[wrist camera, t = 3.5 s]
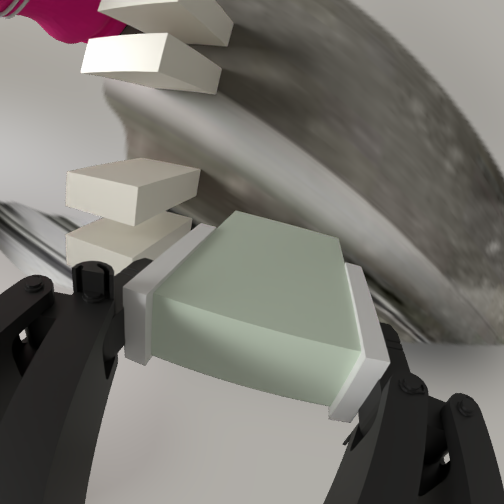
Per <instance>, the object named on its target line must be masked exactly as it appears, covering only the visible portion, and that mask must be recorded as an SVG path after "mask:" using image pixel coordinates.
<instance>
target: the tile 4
mask: <svg viewBox="0 0 504 504" xmlns="http://www.w3.org/2000/svg"><path fill="white" fill-rule="evenodd" d="M221 71H222V68H221V67H219V66H218V65H216V64H215V63H213V62H212V61H211V60H209V59H208V58H206V57H205V56H203V55H202V54H200V53H199V52H197V51H196V50H194V49H193V48H191V47H190V46H188V45H187V44H185V43H183V42H182V41H180V40H179V39H177V38H175V37H174V36H172V35H171V34H169V33H147V34H130V35H118V36H109V37H100V38H93V39H89V41H88V44H87V48H86V52H85V56H84V60H83V65H82V69H81V73H84V74H89V75H95V76H101V77H106V78H111V79H116V80H121V81H125V82H130V83H134V84H139V85H143V86H147V87H151V88H156V89H169V90H180V91H190V92H199V93H207V94H215V95H216V92H217V88H218V84H219V79H220V75H221Z"/></svg>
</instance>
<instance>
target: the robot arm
mask: <svg viewBox="0 0 504 504" xmlns="http://www.w3.org/2000/svg"><path fill="white" fill-rule="evenodd" d="M215 231H216V227H215V226H211V225H207V224H203V223H200V224H199V225H198V226H196V227H195V228H194V229H193V230H191V231H190V232H189V233H188V234H186V235H185V236H184V237H182V238H181V239H180V240H179V241H177V242H176V243H175V244H174V245H172V246H171V247H170V248H169V249H168V250H166V251H165V252H164V253H163V254H161V255H160V256H159V257H158V258H157V259H155V260H151V259H148V258H142V259H139V260H136V261H133V262H132V263H131V264H129V265H128V266H127V267H126V268H124V269H123V270H122V271H120V273H118V274H116V275H115V276H114V270H113V268H112V266H110V265H108V264H107V263H104V262H100V261H85V262H81V263H78V264H76V265H75V266H74V267H72V277H73V290H74V293H73V294H72V295H68V294H63V293H58V292H54V287H53V282H52V280H51V279H49V278H48V277H46V276H42V275H32V276H28V277H26V278H24V279H22V280H20V281H19V282H17V283H16V284H15V285H13V286H11V287H10V288H9V289H7V290H6V291H4V292H3V293H2V294H0V504H85V499H86V492H87V486H88V481H89V476H90V471H91V466H92V461H93V456H94V452H95V447H96V443H97V438H98V434H99V430H100V426H101V422H102V418H103V414H104V410H105V406H106V403H107V399H108V395H109V392H110V388H111V385H112V381H113V378H114V374H115V371H116V367H117V364H118V355H117V353H118V352H119V350H120V349H121V348H122V347H123V346H124V350H125V357H126V358H128V359H130V360H132V361H135V362H137V363H139V364H142V365H144V366H145V365H146V364H147V362H148V361H149V360H150V358H151V357H152V356H153V355H151V332H152V306H153V293H154V292H155V291H156V290H157V289H158V288H159V287H160V286H161V285H162V284H163V282H164V281H165V280H166V279H167V278H168V277H169V276H170V275H171V274H172V273H173V272H174V271H175V270H176V269H177V268H178V267H179V266H180V265H181V264H182V263H183V262H184V261H185V260H186V259H187V258H188V257H189V256H190V255H191V254H192V253H193V252H194V251H195V250H196V249H197V248H198V247H199V246H200V245H201V244H202V243H203V242H204V241H205V240H206V239H207V238H209V237H210V236H211V235H212V234H213V233H214V232H215ZM345 270H346V274H347V279H348V283H349V288H350V293H351V297H352V302H353V307H354V312H355V317H356V323H357V328H358V334H359V339H360V345H361V351H362V352H361V354H360V356H359V358H358V359H357V361H356V363H355V365H354V367H353V369H352V370H351V372H350V374H349V376H348V378H347V379H346V381H345V383H344V384H343V386H342V388H341V390H340V391H339V393H338V395H337V396H336V398H335V400H334V401H333V403H332V405H331V406H329V419H330V420H336V421H342V422H349V423H351V421H352V420H353V418H354V417H355V416H356V414H357V413H359V423H358V425H357V426H356V427H355V429H354V430H353V431H352V432H351V434H350V435H349V436H348V437H347V439H346V440H345V441H344V443H343V445H346V444H347V443H348V442H349V443H348V446H347V449H346V451H345V454H344V457H343V459H342V462H341V464H340V467H339V469H338V471H337V474H336V476H335V479H334V481H333V483H332V486H331V488H330V490H329V492H328V495H327V497H326V499H325V501H324V503H323V504H504V489H503V484H502V480H501V476H500V472H499V468H498V464H497V461H496V457H495V453H494V450H493V446H492V443H491V440H490V436H489V433H488V430H487V427H486V424H485V421H484V419H483V416H482V413H481V410H480V408H479V406H478V404H477V403H476V402H475V401H474V399H473V398H471V397H470V396H468V395H465V394H462V393H455V394H454V395H452V396H451V397H450V398H449V400H448V401H447V402H443V401H441V400H438V399H436V398H433V397H431V396H429V395H428V389H427V386H426V385H425V383H424V382H423V381H422V380H421V379H420V378H419V377H418V376H416V375H414V374H412V373H410V370H409V367H408V363H407V360H406V357H405V354H404V352H403V348H402V345H401V344H400V339H399V337H398V334H397V332H396V331H395V330H394V329H393V328H392V326H391V325H389V324H385V323H381V322H379V320H378V317H377V313H376V310H375V307H374V304H373V301H372V297H371V294H370V291H369V288H368V285H367V282H366V279H365V276H364V273H363V271H362V268H361V266H357V265H354V264H350V263H347V262H346V263H345ZM24 329H25V332H26V336H27V337H26V338H25V339H23V340H22V341H21V340H20V336H19V334H20V333H21V332H22V331H23V330H24ZM448 452H449V456H450V461H449V462H448V463H446V464H445V462H444V456H445V455H446V454H447V453H448Z"/></svg>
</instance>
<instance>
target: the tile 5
mask: <svg viewBox="0 0 504 504" xmlns="http://www.w3.org/2000/svg"><path fill="white" fill-rule="evenodd" d="M98 12H101V13H103V14H105V15H108V16H110V17H112V18H114V19H117V20H119V21H121V22H123V23H125V24H127V25H130V26H132V27H134V28H136V29H138V30H140V31H142V32H144V33H146V34H147V33H169V34H171V35H172V36H174V37H175V38H177V39H179V40H180V41H182V42H183V43H185V44H199V45H214V46H226V47H228V43H229V39H230V35H231V32H232V28H233V24H234V23H233V21H232V20H231V19H230V18H229V16H228V15H227V14H226V13H225V11H224V10H223V9H222V8H221V7H220V5H219V4H218V3H217V2H216V1H215V0H101V2H100V5H99V8H98Z"/></svg>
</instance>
